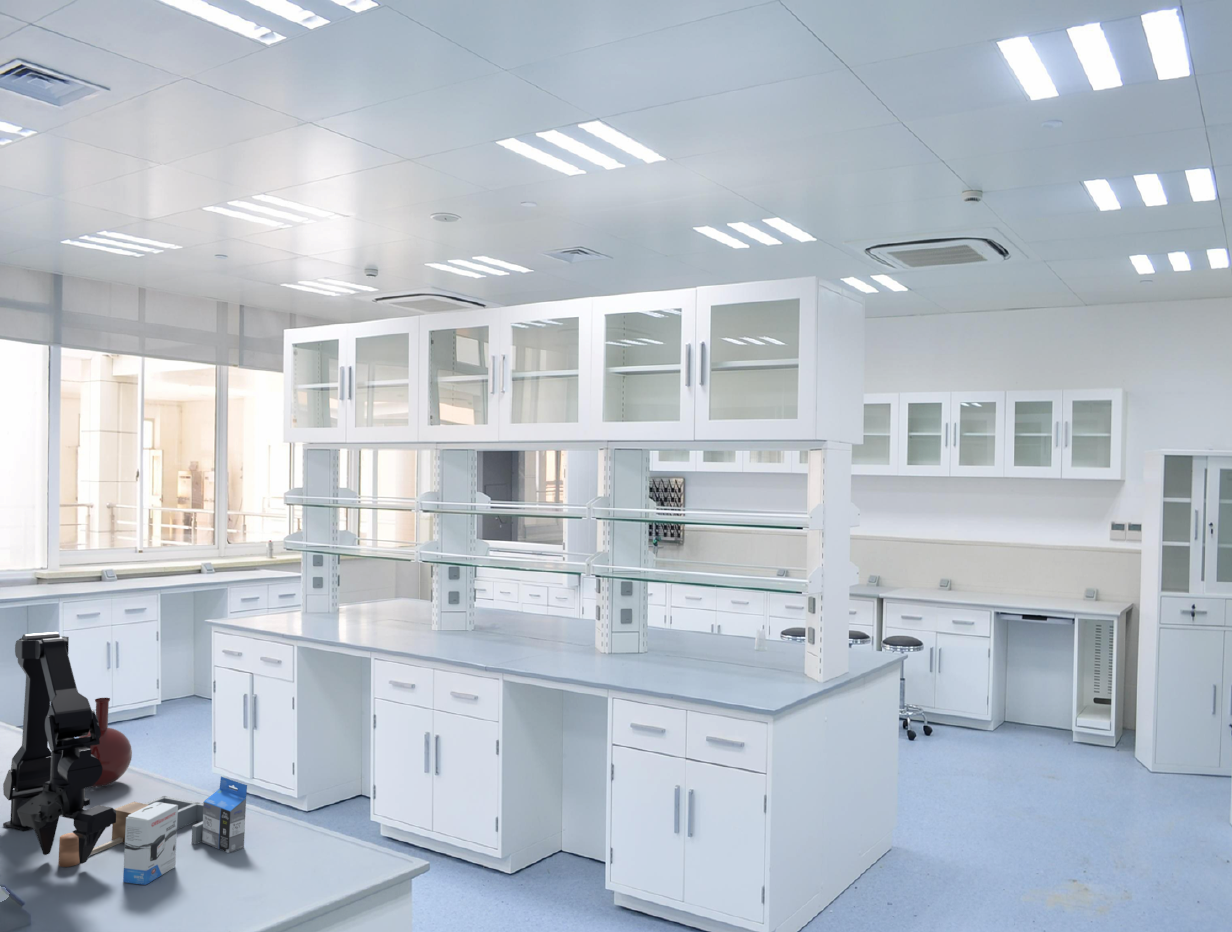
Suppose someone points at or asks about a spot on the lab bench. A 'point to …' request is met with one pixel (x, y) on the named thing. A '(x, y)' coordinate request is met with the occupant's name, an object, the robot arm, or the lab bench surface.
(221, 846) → the ink cartridge box
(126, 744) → the round-bottom flask
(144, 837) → the ink box
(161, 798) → the shelf lane
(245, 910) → the lab bench surface
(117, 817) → the brown elongated piece
